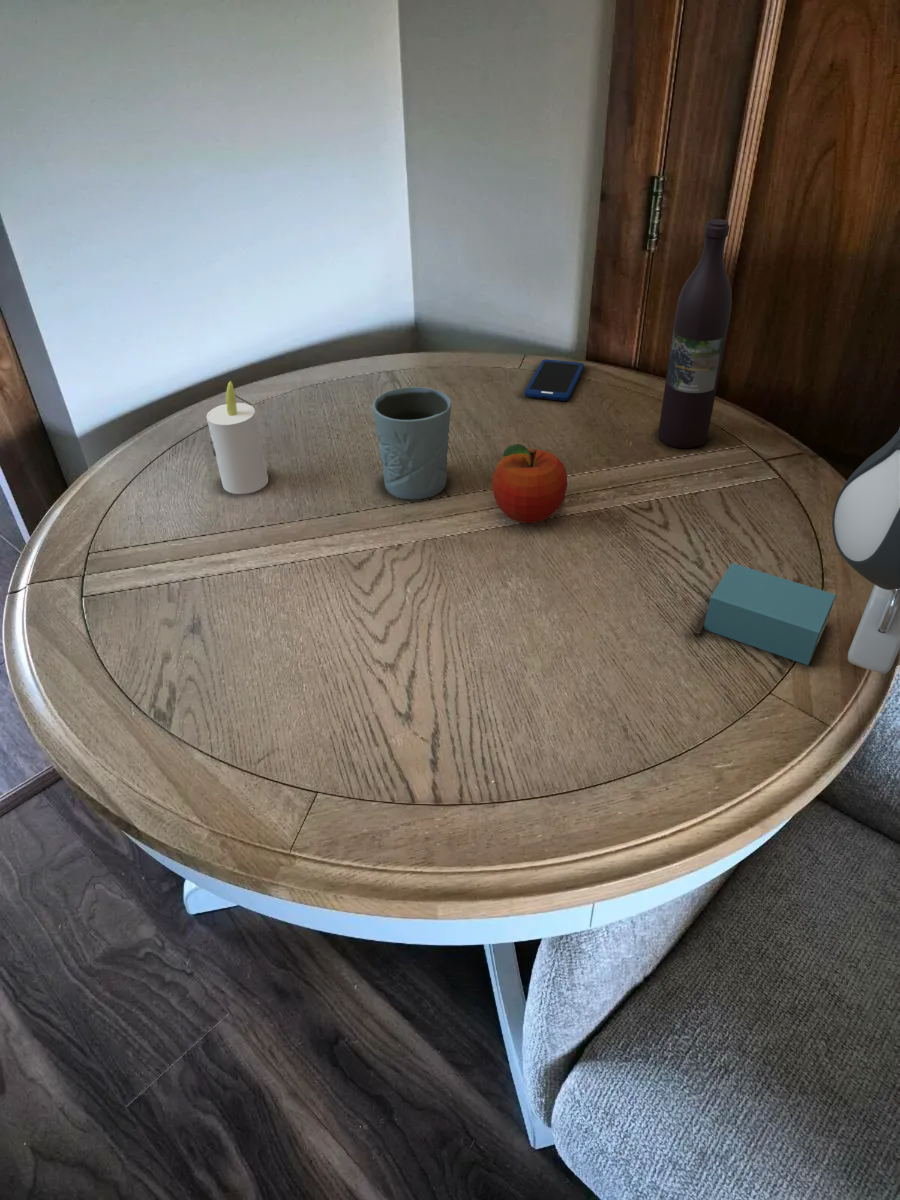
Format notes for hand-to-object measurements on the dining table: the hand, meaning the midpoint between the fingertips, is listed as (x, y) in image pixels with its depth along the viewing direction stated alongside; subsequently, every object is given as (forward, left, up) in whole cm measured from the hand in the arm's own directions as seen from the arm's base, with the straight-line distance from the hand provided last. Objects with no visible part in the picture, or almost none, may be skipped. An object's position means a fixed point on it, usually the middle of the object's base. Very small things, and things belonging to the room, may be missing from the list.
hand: (871, 646), depth 83 cm
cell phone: (+58, -44, -2) cm, 73 cm away
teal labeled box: (+10, 0, -2) cm, 11 cm away
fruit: (+43, -7, -2) cm, 43 cm away
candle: (+81, +6, -2) cm, 81 cm away
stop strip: (+16, 0, -2) cm, 16 cm away
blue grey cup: (+60, -6, -2) cm, 60 cm away
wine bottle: (+33, -36, -2) cm, 49 cm away
